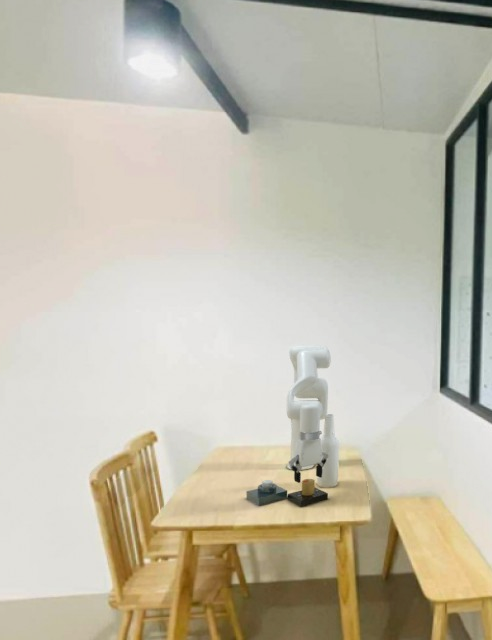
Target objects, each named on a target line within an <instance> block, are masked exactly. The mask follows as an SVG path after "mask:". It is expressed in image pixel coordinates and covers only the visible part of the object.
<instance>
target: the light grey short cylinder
mask: <svg viewBox="0 0 492 640" xmlns="http://www.w3.org/2000/svg"><path fill="white" fill-rule="evenodd" d="M273 483H274V482H273V480H271V479H270V480H269V479H266V480H262V481H261V484H262V488H270V487H273Z"/></svg>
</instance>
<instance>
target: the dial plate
mask: <svg viewBox="0 0 492 640" xmlns="http://www.w3.org/2000/svg"><path fill="white" fill-rule="evenodd" d="M327 500H329V493H328V492H326V491H324V490H322V489H320V488H317V487H315V486H314V494H313V495H309V496H305V495H302V489H301V490H298V491H294V492H290V493H287V501H288V502H290V503H292V504H294V505H296V506H298V507H299V508H304V507H307V506H310V505H313V504H318V503H321V502H325V501H327Z"/></svg>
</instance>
